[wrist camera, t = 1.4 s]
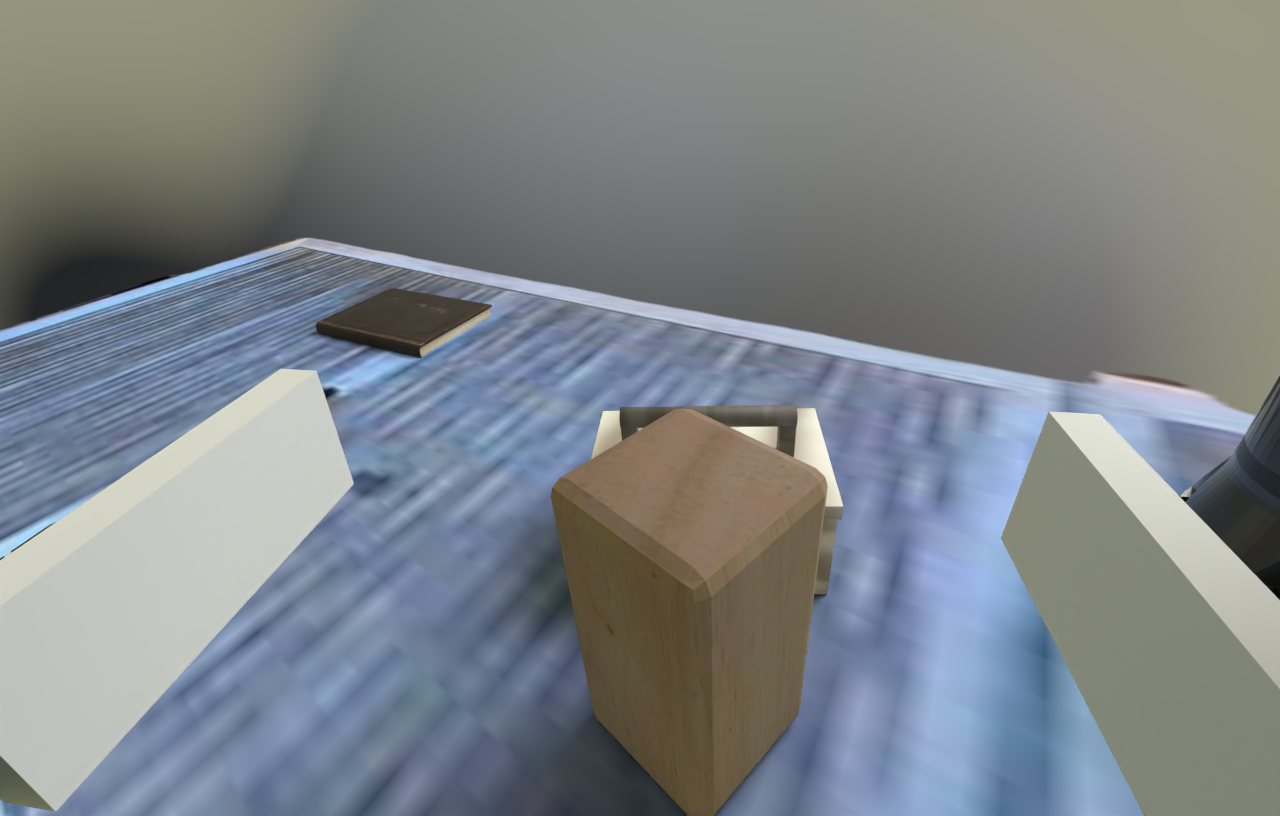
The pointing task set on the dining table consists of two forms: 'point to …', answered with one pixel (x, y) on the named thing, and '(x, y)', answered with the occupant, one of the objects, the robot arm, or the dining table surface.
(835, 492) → the toolbox
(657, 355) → the dining table surface
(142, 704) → the robot arm
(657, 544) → the wooden block
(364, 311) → the hardcover book
